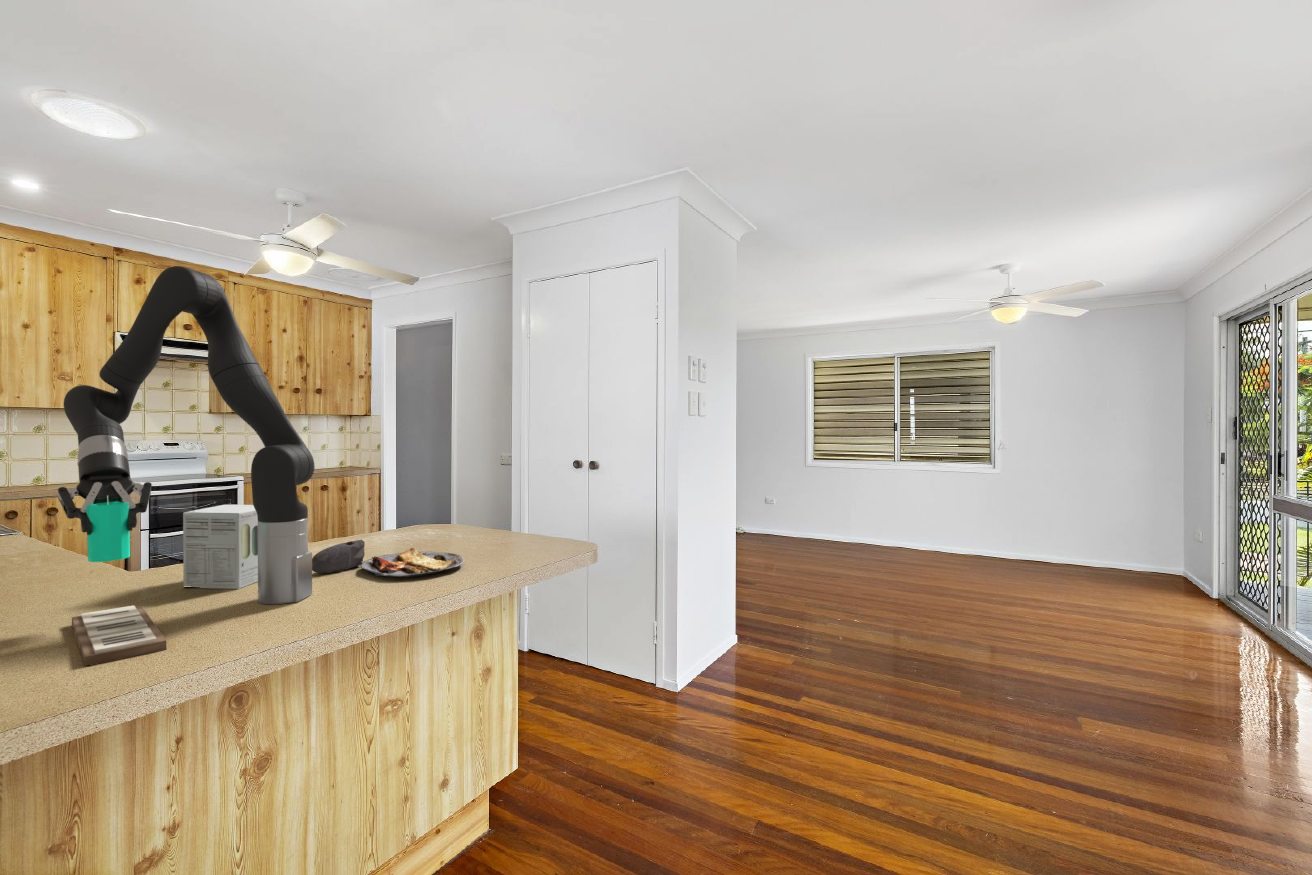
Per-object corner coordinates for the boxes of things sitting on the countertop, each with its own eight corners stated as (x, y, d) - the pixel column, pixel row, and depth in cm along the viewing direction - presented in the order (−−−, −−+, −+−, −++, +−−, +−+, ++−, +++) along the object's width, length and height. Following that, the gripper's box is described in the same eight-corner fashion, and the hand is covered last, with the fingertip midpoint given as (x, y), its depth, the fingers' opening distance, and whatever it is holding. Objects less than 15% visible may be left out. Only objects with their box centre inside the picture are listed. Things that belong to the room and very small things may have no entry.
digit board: (71, 625, 114) (71, 614, 114) (141, 613, 121) (141, 602, 121) (85, 666, 95) (85, 653, 95) (166, 649, 103) (166, 637, 102)
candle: (104, 562, 112) (102, 498, 112) (79, 561, 114) (77, 497, 113) (138, 555, 118) (136, 494, 118) (114, 554, 119) (112, 493, 119)
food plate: (343, 569, 157) (344, 555, 157) (423, 554, 176) (424, 542, 176) (400, 588, 143) (400, 573, 142) (480, 570, 162) (480, 557, 162)
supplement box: (239, 589, 138) (238, 512, 138) (182, 588, 138) (181, 512, 138) (276, 574, 151) (276, 504, 151) (224, 573, 152) (224, 503, 151)
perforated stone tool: (316, 578, 149) (316, 550, 149) (304, 575, 151) (303, 547, 151) (372, 566, 162) (372, 540, 161) (360, 563, 164) (359, 538, 164)
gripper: (53, 451, 115) (56, 522, 107) (151, 448, 125) (160, 513, 117) (53, 477, 119) (56, 547, 111) (148, 473, 129) (157, 537, 121)
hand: (110, 529), depth 114 cm, fingers closed on candle, 5 cm apart
